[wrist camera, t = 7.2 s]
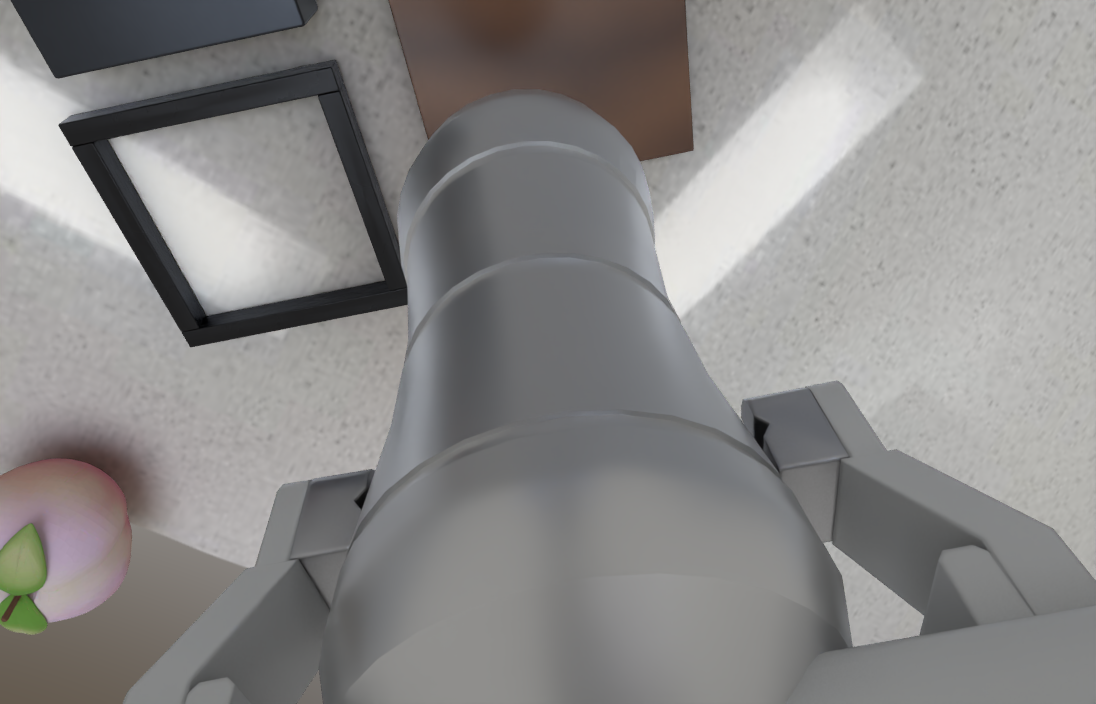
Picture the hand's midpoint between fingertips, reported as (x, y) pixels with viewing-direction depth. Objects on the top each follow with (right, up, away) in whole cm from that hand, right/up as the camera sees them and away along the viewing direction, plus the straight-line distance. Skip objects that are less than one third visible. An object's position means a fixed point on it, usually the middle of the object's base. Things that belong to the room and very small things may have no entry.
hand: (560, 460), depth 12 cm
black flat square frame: (-14, +9, +23) cm, 28 cm away
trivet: (0, +15, +20) cm, 25 cm away
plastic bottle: (-1, +7, +9) cm, 11 cm away
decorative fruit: (-28, -6, +32) cm, 43 cm away
